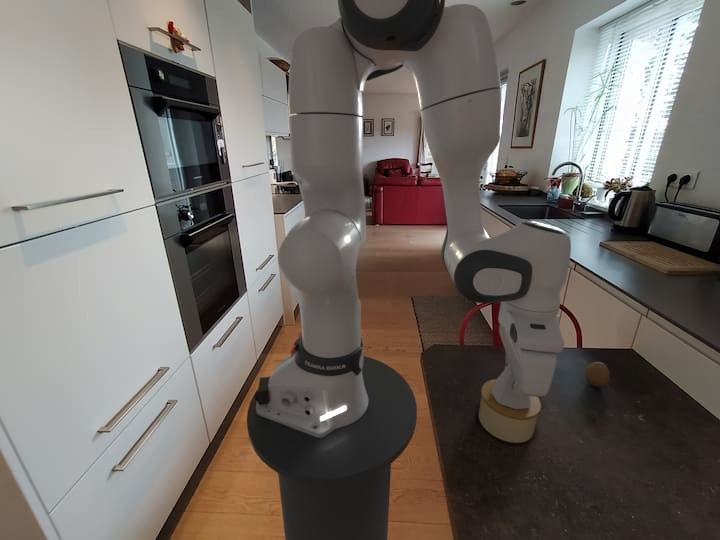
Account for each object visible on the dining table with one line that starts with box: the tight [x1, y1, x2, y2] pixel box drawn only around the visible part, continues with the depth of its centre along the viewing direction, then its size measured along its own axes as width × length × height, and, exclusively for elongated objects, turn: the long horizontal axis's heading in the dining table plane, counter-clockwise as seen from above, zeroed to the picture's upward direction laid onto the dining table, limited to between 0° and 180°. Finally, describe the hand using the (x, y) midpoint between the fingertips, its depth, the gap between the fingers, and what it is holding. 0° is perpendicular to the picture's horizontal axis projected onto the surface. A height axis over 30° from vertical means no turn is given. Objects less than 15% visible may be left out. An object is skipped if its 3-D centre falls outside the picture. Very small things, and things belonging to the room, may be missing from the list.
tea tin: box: [478, 378, 542, 444], centre depth 63 cm, size 10×10×6 cm
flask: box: [491, 362, 531, 409], centre depth 60 cm, size 7×7×10 cm
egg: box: [584, 361, 610, 388], centre depth 73 cm, size 4×4×6 cm
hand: (513, 381), depth 61 cm, fingers closed on flask, 5 cm apart
